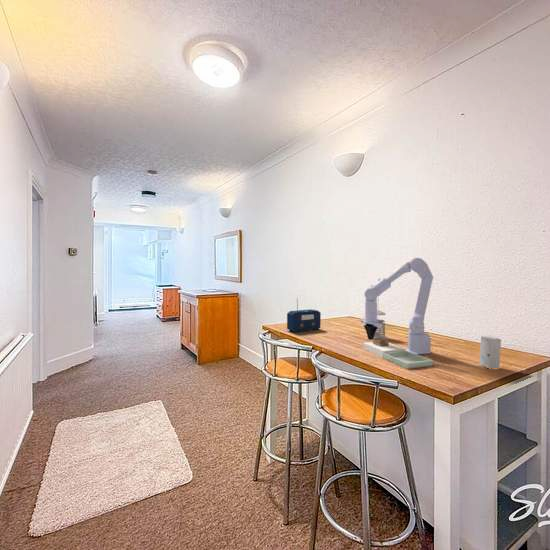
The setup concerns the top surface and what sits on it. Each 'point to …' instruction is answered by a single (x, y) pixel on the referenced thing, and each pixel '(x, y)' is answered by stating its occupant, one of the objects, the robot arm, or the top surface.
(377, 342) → the walnut tile
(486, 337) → the skincare box
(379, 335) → the french press
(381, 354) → the board
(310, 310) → the radio
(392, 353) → the tray
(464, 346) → the top surface
